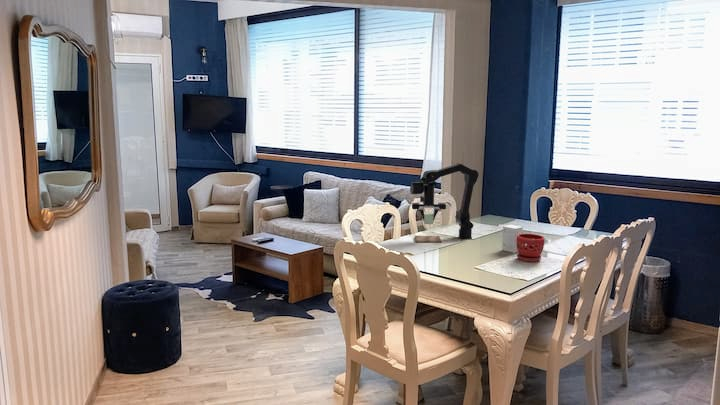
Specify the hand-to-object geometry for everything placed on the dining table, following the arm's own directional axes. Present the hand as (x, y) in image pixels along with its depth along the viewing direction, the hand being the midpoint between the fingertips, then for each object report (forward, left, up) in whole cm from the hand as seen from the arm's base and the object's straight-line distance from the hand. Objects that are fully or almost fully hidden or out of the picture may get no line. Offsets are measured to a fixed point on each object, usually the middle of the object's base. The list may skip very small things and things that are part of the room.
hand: (428, 221), depth 312 cm
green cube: (0, 0, -1) cm, 1 cm away
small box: (-42, +22, -11) cm, 49 cm away
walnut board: (0, 0, -11) cm, 11 cm away
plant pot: (-47, +38, -11) cm, 61 cm away
